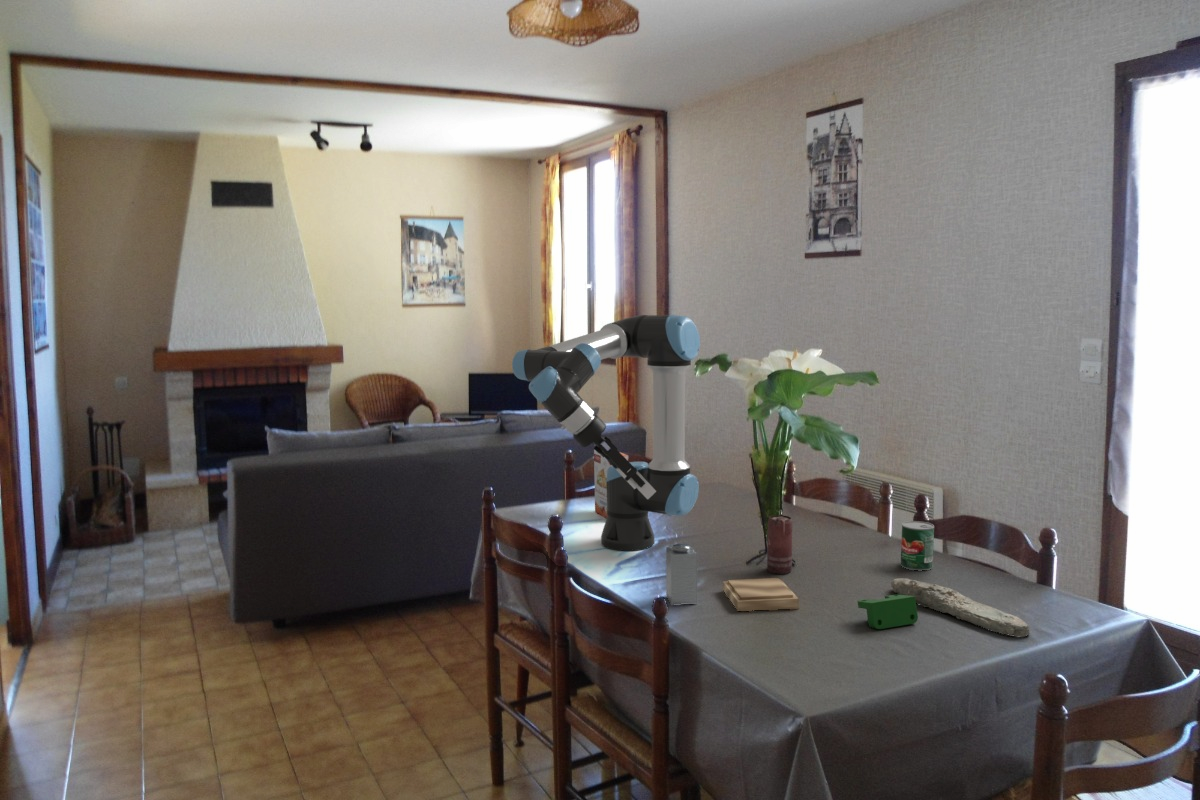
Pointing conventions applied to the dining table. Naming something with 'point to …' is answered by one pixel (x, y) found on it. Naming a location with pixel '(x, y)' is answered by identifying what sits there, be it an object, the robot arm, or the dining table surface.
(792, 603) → the stand
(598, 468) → the cracker box
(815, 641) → the dining table surface
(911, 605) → the green plastic block
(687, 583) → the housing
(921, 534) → the canned tomato
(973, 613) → the elongated rock
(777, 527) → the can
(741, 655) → the dining table surface
